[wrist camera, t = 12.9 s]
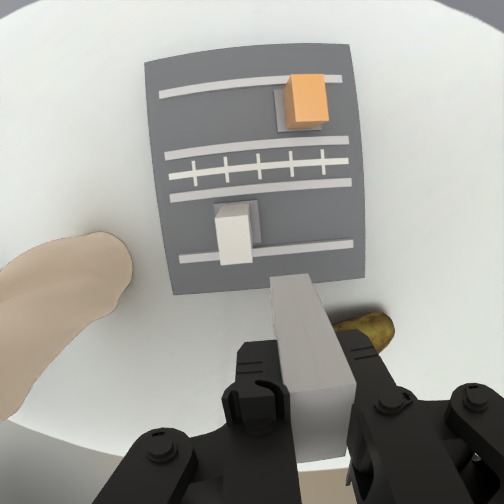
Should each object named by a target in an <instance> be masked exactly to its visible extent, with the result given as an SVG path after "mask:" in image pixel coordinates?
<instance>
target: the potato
mask: <svg viewBox="0 0 504 504" xmlns="http://www.w3.org/2000/svg"><path fill="white" fill-rule="evenodd" d="M332 327H333V330H334V332H337V331H344V330H351V329H358V330H360V331H361V332H363V333H364V334H366V335H367V336H368V337H369V338H370V340H371V342H372V344H373V345H374V348H375V349H376V350H377V352H378V354H379V353H380V352H381V351H382V350H383V349H384V348H385V347H387V346H388V344H389V343H390V341H391V340H392V338H393V337H394V334H395V328H394V324H393V322H392V320H391V318H390V317H389V316H388V315H386V314H385V313H380V312H371V313H368V314H365V315H364V316H363V317H355V318H352V319H350V320H347V321H344V322H341V323H338V324H335V325H332Z"/></svg>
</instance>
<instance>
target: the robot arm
mask: <svg viewBox="0 0 504 504" xmlns="http://www.w3.org/2000/svg"><path fill="white" fill-rule="evenodd" d="M270 288H271V301H272V313H273V326H274V339H275V340H266V341H254V342H244V344H243V345H242V346H241V348H240V349H239V350H238V352H237V362H236V364H237V365H236V376H235V382H234V383H232V384H231V385H230V386H229V387H228V388H227V389H226V390H225V391H224V394H223V396H222V398H221V399H222V404H223V409H224V413H225V417H226V422H227V423H226V424H224V425H223V426H222V427H221V428H219V429H217V430H215V431H213V432H210V433H207V434H204V435H199V436H195V437H191V438H189V437H188V436H187V435H186V434H185V433H184V432H182V431H179V430H177V429H174V428H158V429H153V430H150V431H148V432H146V433H144V434H142V435H141V436H140V437H139V438H138V439H137V440H136V441H135V442H134V444H133V445H132V447H131V448H130V449H129V451H128V452H127V454H126V455H125V457H124V458H123V460H122V461H121V462H120V464H119V465H118V467H117V468H116V470H115V471H114V472H113V474H112V475H111V477H110V478H109V480H108V481H107V483H106V484H105V485H104V487H103V488H102V490H101V491H100V493H99V494H98V496H97V497H96V498H95V500H94V501H93V503H92V504H302V502H301V494H300V487H299V478H298V470H297V463H304V462H311V461H319V460H325V459H331V458H337V457H343V456H345V454H346V449H347V447H348V450H349V454H350V457H351V460H350V464H349V469H348V473H347V477H346V486H349V485H350V483H351V481H352V485H353V489H354V493H355V497H356V501H357V504H504V398H503V397H502V396H500V395H499V394H498V393H496V392H495V391H494V390H493V389H491V388H489V387H487V386H486V385H483V384H478V383H466V384H464V385H461V386H459V387H457V388H456V389H455V390H454V391H453V393H452V396H451V398H450V400H439V401H424V400H418V399H417V397H416V396H415V395H414V394H413V393H412V392H411V391H409V390H407V389H405V388H403V387H400V386H397V385H396V384H395V382H394V380H393V378H392V376H391V375H390V373H389V371H388V369H387V368H386V366H385V364H384V362H383V361H382V359H381V357H380V356H379V354H378V352H377V350H376V349H375V348H374V345H373V344H372V342H371V340H370V338H369V337H368V336H367V335H366V334H364V333H363V332H361V331H360V330H358V329H351V330H344V331H337V332H334V330H333V327H332V325H331V323H330V321H329V318H328V316H327V314H326V312H325V309H324V307H323V305H322V303H321V301H320V298H319V296H318V294H317V292H316V290H315V287H314V285H313V283H312V281H311V279H310V277H309V274H308V273H306V274H296V275H285V276H275V277H270ZM475 453H476V454H477V455H478V456H479V457H478V456H477V455H475Z"/></svg>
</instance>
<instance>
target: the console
mask: <svg viewBox="0 0 504 504" xmlns="http://www.w3.org/2000/svg"><path fill="white" fill-rule="evenodd" d="M144 66H145V85H146V100H147V113H148V125H149V136H150V145H151V155H152V164H153V172H154V180H155V188H156V195H157V202H158V209H159V216H160V223H161V229H162V235H163V241H164V247H165V253H166V258H167V264H168V269H169V275H170V280H171V285H172V290H173V295H183V294H197V293H211V292H224V291H236V290H248V289H259V288H270V277H275V276H285V275H296V274H306V273H308V274H309V277H310V279H311V281H312V283H321V282H330V281H340V280H349V279H357V278H365V198H364V174H363V158H362V144H361V132H360V121H359V111H358V103H357V94H356V86H355V79H354V72H353V65H352V59H351V53H350V47H349V45H348V44H322V43H295V44H269V45H254V46H242V47H232V48H224V49H216V50H209V51H202V52H195V53H189V54H184V55H178V56H173V57H168V58H163V59H158V60H154V61H149V62H145V63H144ZM291 74H324V81H325V89H326V97H327V106H328V115H329V121H327V122H325V123H323V124H321V127H322V130H320V131H299V132H282V133H277V124H276V115H275V105H274V96H273V90H281V89H284V88H285V86H286V83H287V81H288V79H289V77H290V75H291ZM249 199H257V201H258V211H259V222H260V233H261V242H260V243H253V263H242V264H230V265H221V264H220V256H219V249H218V241H217V233H216V225H215V211H214V203H220V202H229V201H239V200H249Z"/></svg>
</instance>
